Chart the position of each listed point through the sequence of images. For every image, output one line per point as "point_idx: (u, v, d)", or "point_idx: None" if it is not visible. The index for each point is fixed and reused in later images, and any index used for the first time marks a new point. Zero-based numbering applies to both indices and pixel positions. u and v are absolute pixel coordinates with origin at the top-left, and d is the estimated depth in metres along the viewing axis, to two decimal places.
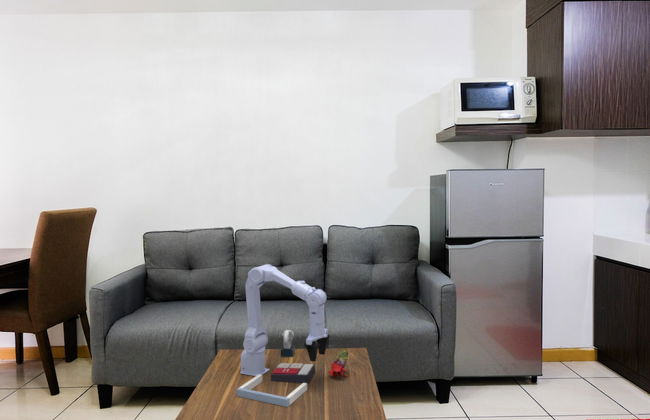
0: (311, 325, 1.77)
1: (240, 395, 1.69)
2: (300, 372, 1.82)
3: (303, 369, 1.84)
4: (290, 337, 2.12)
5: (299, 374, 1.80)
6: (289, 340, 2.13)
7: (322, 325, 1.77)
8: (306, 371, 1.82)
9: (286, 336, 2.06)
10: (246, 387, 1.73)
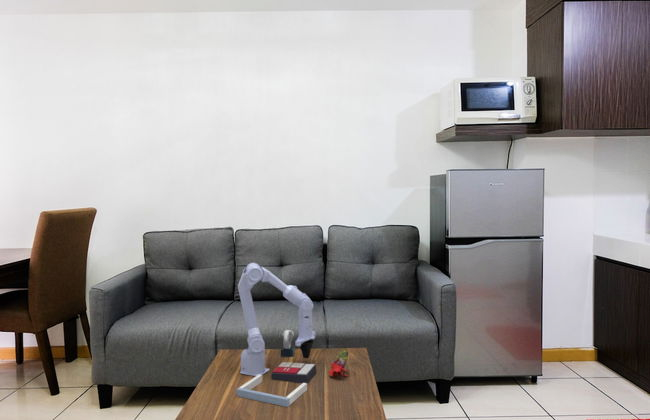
0: (300, 328, 1.93)
1: (240, 395, 1.69)
2: (300, 372, 1.82)
3: (303, 369, 1.85)
4: (290, 337, 2.12)
5: (298, 374, 1.81)
6: (289, 340, 2.13)
7: (310, 328, 1.93)
8: (306, 371, 1.82)
9: (286, 336, 2.06)
10: (246, 387, 1.73)
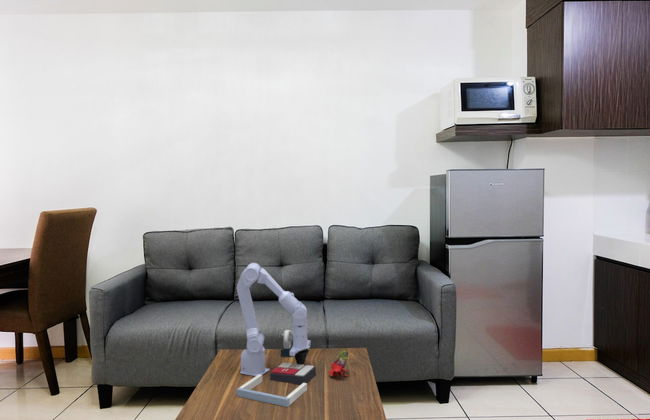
0: (294, 337, 1.89)
1: (240, 395, 1.69)
2: (298, 373, 1.81)
3: (302, 370, 1.83)
4: (290, 337, 2.12)
5: (296, 375, 1.79)
6: (289, 340, 2.13)
7: (305, 337, 1.89)
8: (304, 372, 1.81)
9: (286, 336, 2.06)
10: (246, 387, 1.73)
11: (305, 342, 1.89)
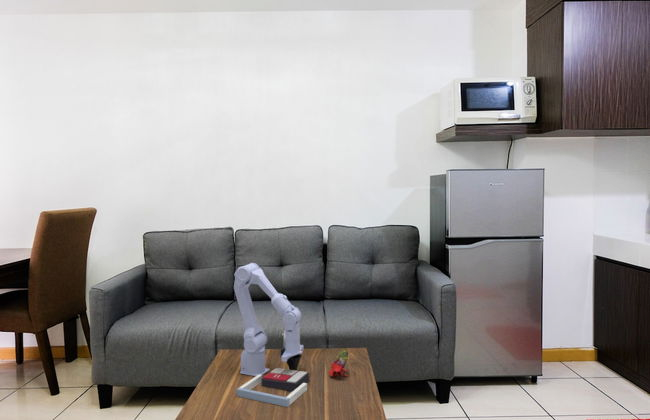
0: (287, 342, 1.83)
1: (240, 395, 1.69)
2: (289, 379, 1.75)
3: (294, 376, 1.77)
4: None
5: (288, 381, 1.74)
6: None
7: (297, 342, 1.83)
8: (296, 379, 1.75)
9: None
10: (246, 387, 1.73)
11: (298, 347, 1.84)
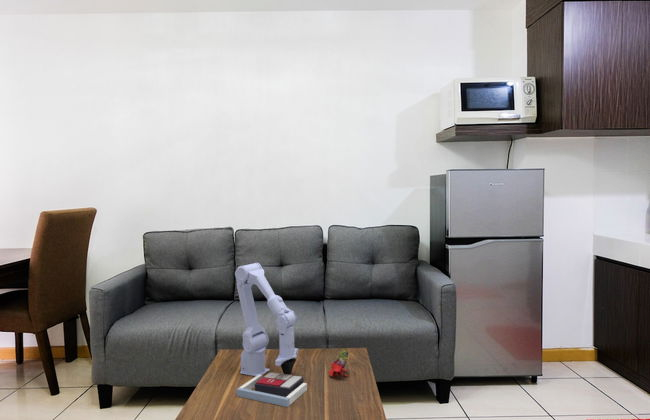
0: (281, 346, 1.79)
1: (240, 395, 1.69)
2: (283, 384, 1.71)
3: (288, 381, 1.73)
4: None
5: (281, 386, 1.70)
6: None
7: (291, 346, 1.79)
8: (290, 384, 1.71)
9: None
10: (246, 387, 1.73)
11: (292, 351, 1.80)
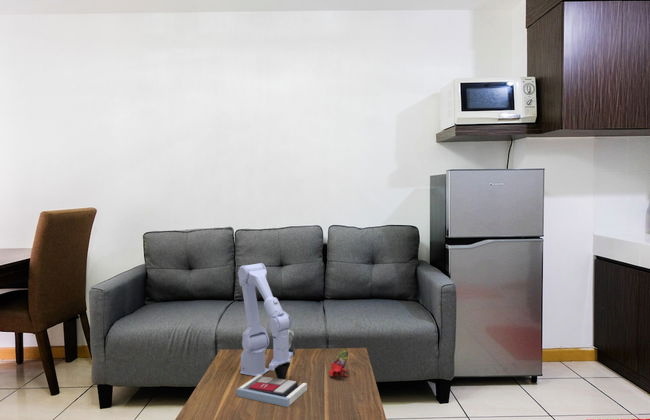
0: (274, 350, 1.75)
1: (240, 395, 1.69)
2: (277, 389, 1.67)
3: (282, 386, 1.69)
4: (290, 337, 2.12)
5: (275, 392, 1.65)
6: (289, 340, 2.13)
7: (286, 350, 1.75)
8: (284, 389, 1.67)
9: None
10: (246, 387, 1.73)
11: (286, 355, 1.76)
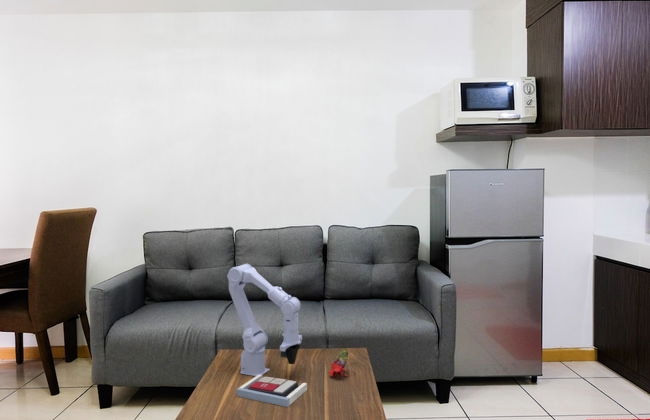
0: (285, 332, 1.82)
1: (240, 395, 1.69)
2: (277, 389, 1.67)
3: (282, 386, 1.69)
4: None
5: (274, 391, 1.66)
6: None
7: (296, 332, 1.82)
8: (283, 389, 1.67)
9: None
10: (246, 387, 1.73)
11: (296, 337, 1.83)
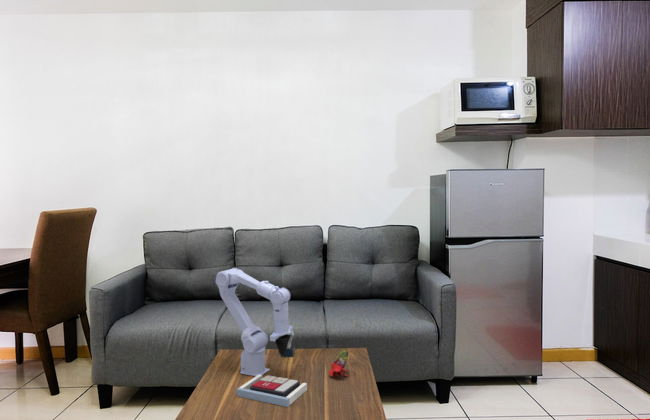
0: (275, 322, 1.83)
1: (240, 395, 1.69)
2: (278, 388, 1.67)
3: (284, 385, 1.70)
4: (290, 337, 2.12)
5: (276, 390, 1.66)
6: (289, 340, 2.13)
7: (286, 322, 1.83)
8: (285, 388, 1.67)
9: None
10: (246, 387, 1.73)
11: (286, 327, 1.83)
